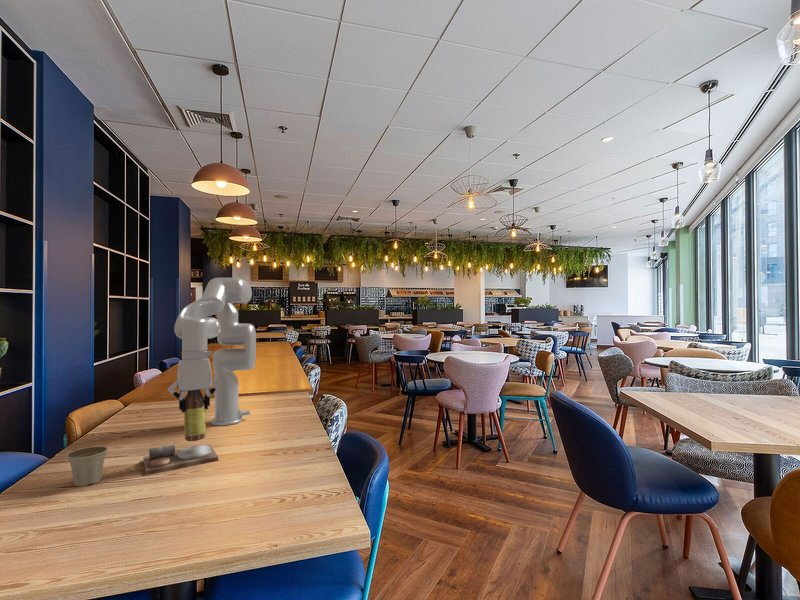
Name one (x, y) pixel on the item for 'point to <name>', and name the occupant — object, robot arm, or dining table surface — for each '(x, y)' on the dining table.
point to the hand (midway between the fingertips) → (194, 409)
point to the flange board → (177, 458)
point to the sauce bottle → (194, 416)
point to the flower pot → (87, 464)
